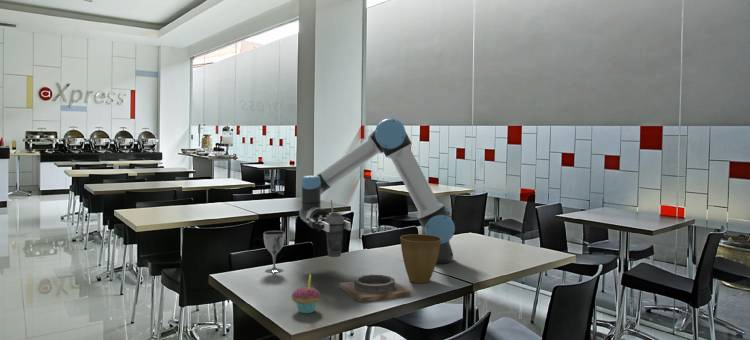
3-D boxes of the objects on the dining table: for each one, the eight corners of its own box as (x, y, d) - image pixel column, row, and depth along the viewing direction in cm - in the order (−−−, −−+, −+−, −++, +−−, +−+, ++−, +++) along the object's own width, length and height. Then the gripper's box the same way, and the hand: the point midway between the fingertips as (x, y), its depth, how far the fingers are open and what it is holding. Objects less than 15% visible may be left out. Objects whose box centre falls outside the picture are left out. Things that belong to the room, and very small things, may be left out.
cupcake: (326, 310, 157) (326, 271, 156) (304, 317, 151) (304, 277, 150) (307, 304, 163) (307, 266, 162) (285, 311, 157) (285, 271, 156)
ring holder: (386, 281, 189) (387, 271, 189) (410, 295, 172) (410, 284, 172) (340, 287, 181) (340, 276, 181) (360, 302, 165) (360, 290, 165)
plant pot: (423, 289, 180) (423, 243, 179) (391, 280, 191) (391, 237, 190) (448, 280, 191) (449, 237, 190) (417, 273, 201) (417, 232, 200)
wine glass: (259, 272, 201) (259, 233, 200) (270, 267, 208) (270, 230, 207) (278, 274, 198) (278, 235, 197) (288, 269, 206) (288, 231, 205)
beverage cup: (341, 258, 182) (341, 201, 181) (321, 257, 183) (321, 201, 182) (346, 253, 189) (346, 199, 188) (327, 252, 191) (327, 198, 189)
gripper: (343, 225, 206) (365, 235, 185) (293, 229, 198) (311, 240, 177) (342, 206, 206) (365, 214, 185) (293, 209, 198) (311, 218, 177)
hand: (339, 227), depth 181 cm, fingers closed on beverage cup, 7 cm apart
